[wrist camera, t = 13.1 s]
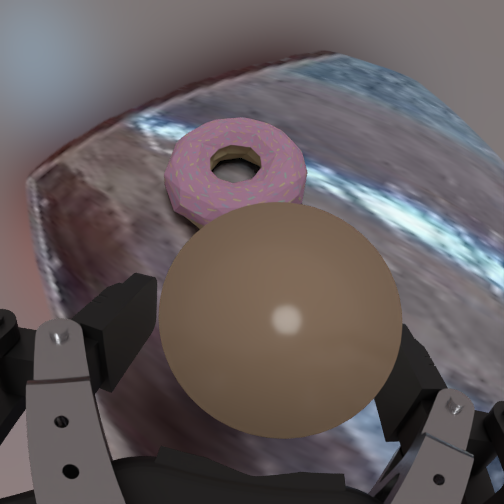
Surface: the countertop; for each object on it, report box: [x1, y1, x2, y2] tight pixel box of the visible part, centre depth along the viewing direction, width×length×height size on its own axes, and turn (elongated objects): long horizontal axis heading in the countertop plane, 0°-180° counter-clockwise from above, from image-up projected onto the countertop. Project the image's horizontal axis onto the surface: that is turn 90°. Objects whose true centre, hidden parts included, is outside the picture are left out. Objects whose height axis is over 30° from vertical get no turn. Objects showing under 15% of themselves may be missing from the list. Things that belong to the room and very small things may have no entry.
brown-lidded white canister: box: [159, 202, 402, 439], centre depth 11 cm, size 6×6×10 cm
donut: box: [164, 117, 307, 229], centre depth 32 cm, size 16×15×5 cm
